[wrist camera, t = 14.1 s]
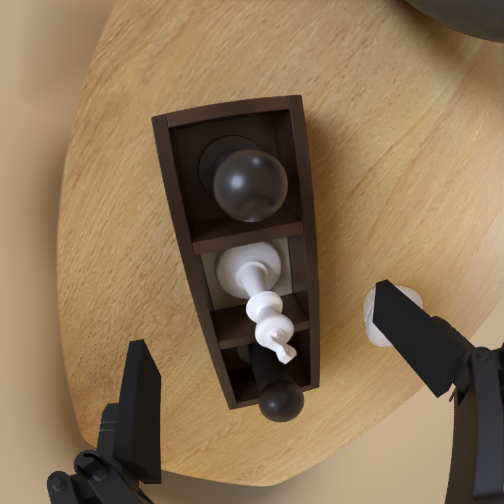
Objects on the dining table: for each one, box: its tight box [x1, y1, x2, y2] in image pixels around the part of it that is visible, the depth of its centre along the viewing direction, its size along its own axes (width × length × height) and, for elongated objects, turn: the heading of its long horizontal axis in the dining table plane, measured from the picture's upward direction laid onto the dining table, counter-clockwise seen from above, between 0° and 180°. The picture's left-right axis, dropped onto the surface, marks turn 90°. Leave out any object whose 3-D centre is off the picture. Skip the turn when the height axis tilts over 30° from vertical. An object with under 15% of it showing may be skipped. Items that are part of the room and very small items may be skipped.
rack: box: [151, 95, 320, 410], centre depth 20 cm, size 8×23×5 cm, turn 8°
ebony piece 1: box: [198, 135, 288, 222], centre depth 15 cm, size 4×4×9 cm
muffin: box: [363, 285, 423, 347], centre depth 23 cm, size 6×6×7 cm
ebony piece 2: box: [236, 342, 304, 422], centre depth 21 cm, size 4×4×9 cm
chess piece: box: [214, 241, 297, 364], centre depth 17 cm, size 5×5×10 cm
